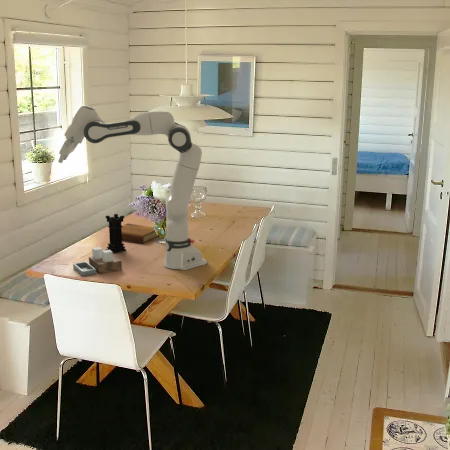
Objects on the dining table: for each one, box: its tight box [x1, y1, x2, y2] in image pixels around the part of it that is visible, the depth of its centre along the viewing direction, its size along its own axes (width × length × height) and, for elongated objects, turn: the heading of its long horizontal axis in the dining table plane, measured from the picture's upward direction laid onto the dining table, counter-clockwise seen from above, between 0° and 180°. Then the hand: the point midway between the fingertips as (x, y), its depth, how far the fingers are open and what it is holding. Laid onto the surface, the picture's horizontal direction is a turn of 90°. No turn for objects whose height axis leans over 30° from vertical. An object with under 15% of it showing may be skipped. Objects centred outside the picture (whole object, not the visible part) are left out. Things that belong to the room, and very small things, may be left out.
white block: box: [91, 246, 104, 259], centre depth 299 cm, size 4×4×5 cm
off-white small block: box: [102, 249, 114, 262], centre depth 295 cm, size 4×4×5 cm
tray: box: [72, 260, 97, 277], centre depth 294 cm, size 7×14×2 cm, turn 32°
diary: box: [121, 223, 158, 245], centre depth 353 cm, size 23×19×6 cm
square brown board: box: [88, 254, 123, 275], centre depth 299 cm, size 12×14×5 cm
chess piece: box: [105, 213, 127, 255], centre depth 326 cm, size 8×8×20 cm
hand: (61, 160), depth 288 cm, fingers open, 8 cm apart
